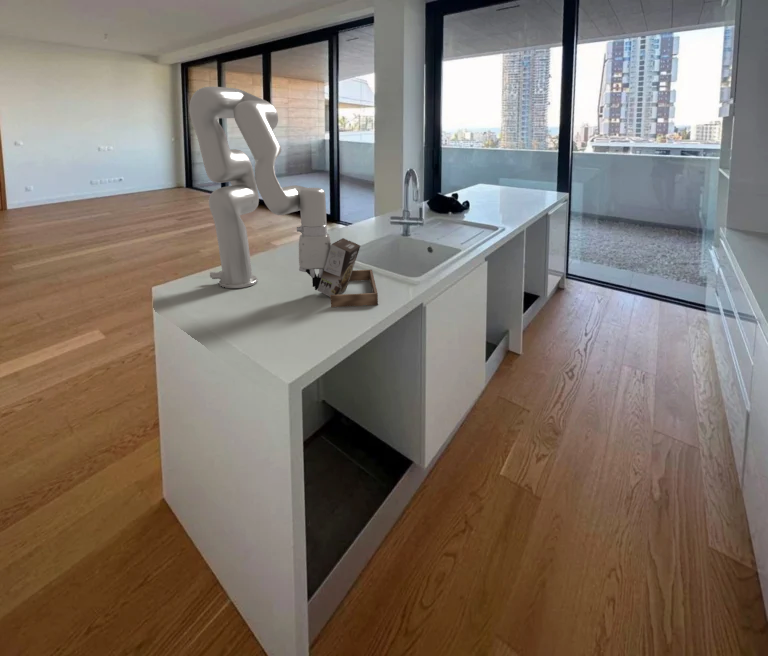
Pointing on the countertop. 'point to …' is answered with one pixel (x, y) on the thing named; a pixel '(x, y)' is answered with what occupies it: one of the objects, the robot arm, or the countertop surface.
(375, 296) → the walnut bay
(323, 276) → the coffee box
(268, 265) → the countertop surface
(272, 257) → the countertop surface
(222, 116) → the robot arm
